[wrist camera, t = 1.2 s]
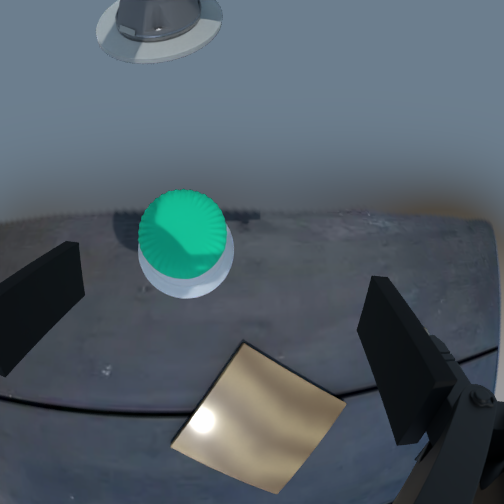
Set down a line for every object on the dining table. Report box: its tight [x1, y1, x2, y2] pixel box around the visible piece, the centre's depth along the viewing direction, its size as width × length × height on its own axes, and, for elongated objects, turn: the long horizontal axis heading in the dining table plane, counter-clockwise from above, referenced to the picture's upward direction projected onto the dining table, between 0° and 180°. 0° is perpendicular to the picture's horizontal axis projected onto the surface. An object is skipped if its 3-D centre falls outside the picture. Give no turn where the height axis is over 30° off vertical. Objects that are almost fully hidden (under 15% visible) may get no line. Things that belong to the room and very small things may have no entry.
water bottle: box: [138, 189, 234, 298], centre depth 28 cm, size 7×7×25 cm
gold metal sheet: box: [171, 342, 347, 494], centre depth 38 cm, size 18×18×1 cm
